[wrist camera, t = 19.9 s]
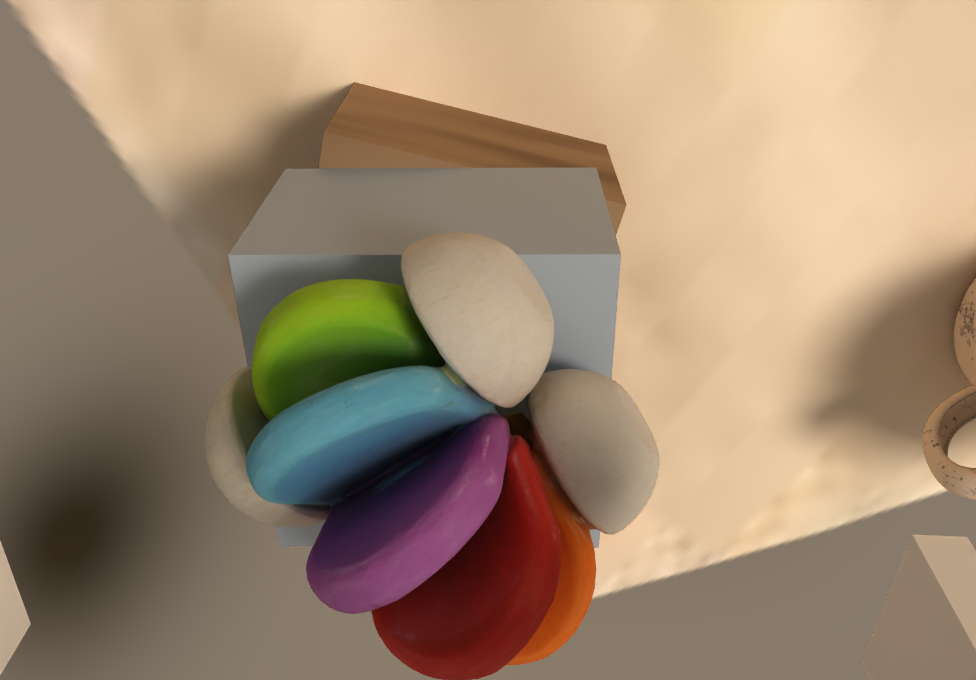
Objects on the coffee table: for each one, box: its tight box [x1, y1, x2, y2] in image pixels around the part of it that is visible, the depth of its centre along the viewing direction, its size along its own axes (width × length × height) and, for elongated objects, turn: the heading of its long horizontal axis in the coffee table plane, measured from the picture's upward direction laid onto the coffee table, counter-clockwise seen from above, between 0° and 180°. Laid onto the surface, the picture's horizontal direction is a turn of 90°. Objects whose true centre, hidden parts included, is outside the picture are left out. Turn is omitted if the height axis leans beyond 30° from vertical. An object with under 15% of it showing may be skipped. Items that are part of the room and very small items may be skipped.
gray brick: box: [228, 167, 621, 547], centre depth 24 cm, size 9×9×6 cm
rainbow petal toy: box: [205, 232, 659, 680], centre depth 18 cm, size 8×10×7 cm
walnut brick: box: [318, 82, 626, 236], centre depth 30 cm, size 9×9×6 cm
